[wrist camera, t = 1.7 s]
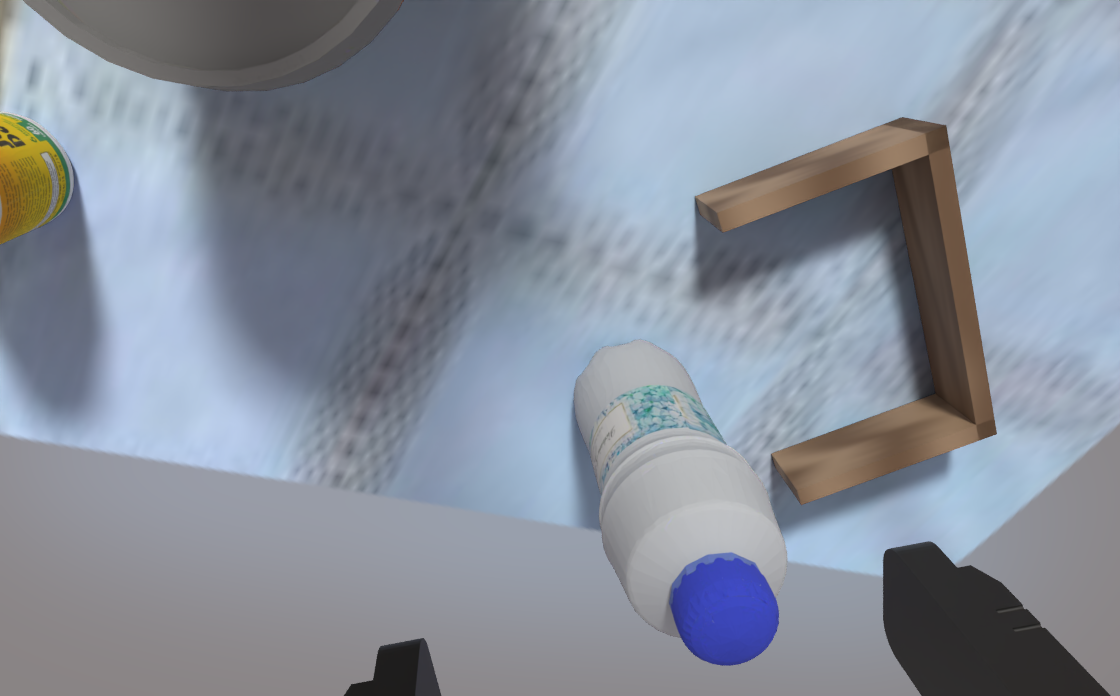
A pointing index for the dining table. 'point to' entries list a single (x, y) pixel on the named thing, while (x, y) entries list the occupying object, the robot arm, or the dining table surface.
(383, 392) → the dining table surface
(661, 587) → the bottle
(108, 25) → the reusable coffee cup
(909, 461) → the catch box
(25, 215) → the supplement bottle
